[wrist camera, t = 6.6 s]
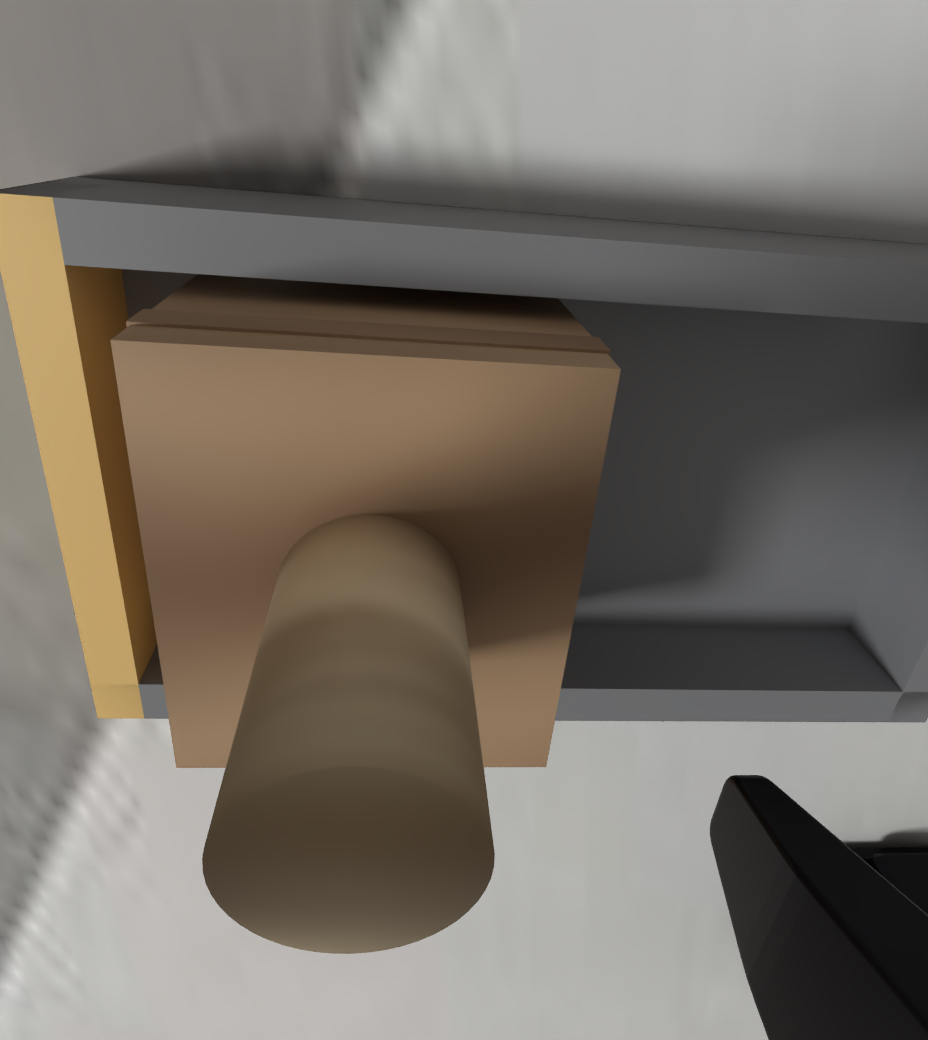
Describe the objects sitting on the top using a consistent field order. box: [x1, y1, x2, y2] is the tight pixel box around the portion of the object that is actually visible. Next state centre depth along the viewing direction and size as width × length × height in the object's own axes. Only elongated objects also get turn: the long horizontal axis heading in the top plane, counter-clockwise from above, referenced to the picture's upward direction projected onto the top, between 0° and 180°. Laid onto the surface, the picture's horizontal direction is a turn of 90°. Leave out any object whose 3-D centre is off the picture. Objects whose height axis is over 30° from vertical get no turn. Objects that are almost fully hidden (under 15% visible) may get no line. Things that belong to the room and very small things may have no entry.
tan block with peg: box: [110, 274, 621, 954], centre depth 12 cm, size 8×7×10 cm
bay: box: [0, 177, 928, 722], centre depth 16 cm, size 11×20×4 cm, turn 85°
